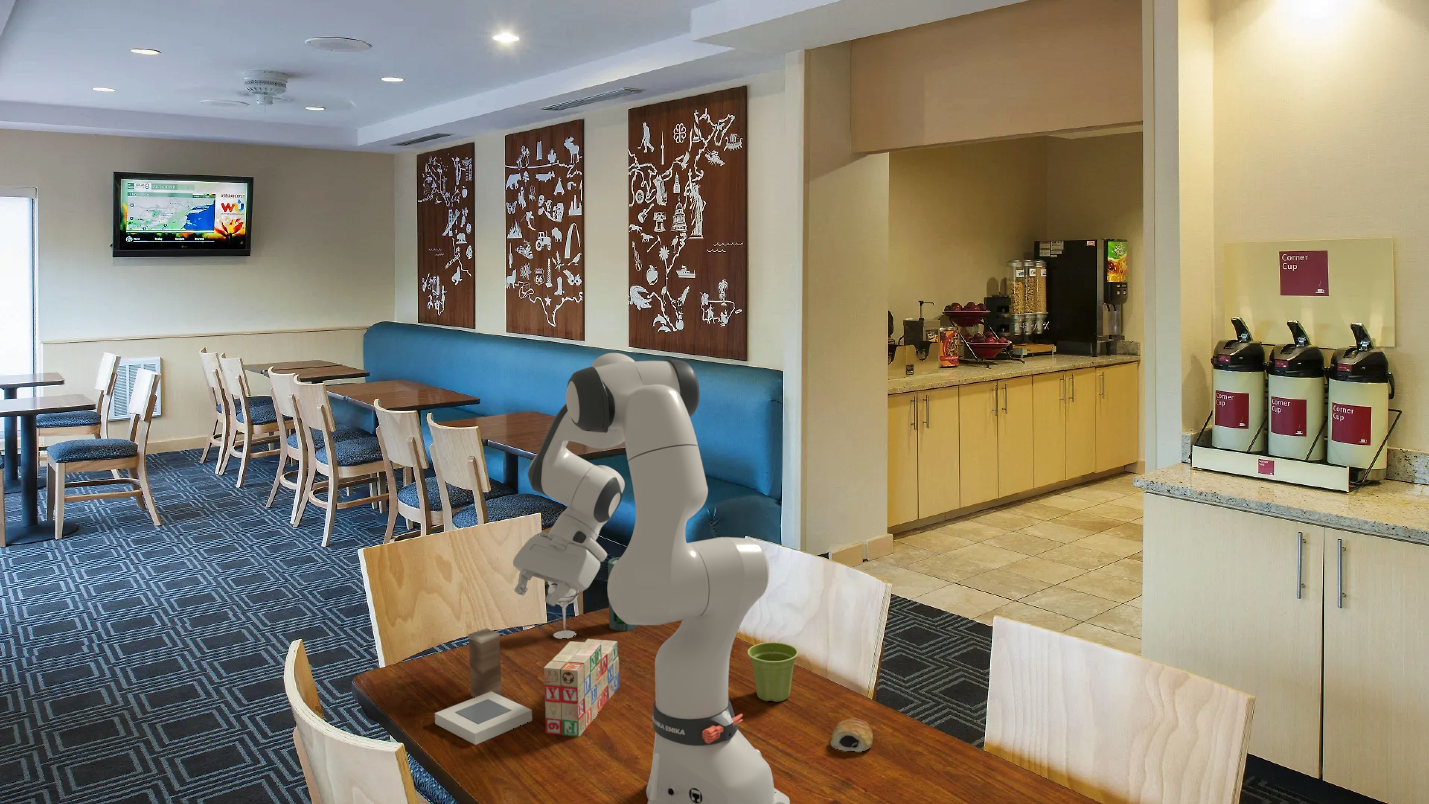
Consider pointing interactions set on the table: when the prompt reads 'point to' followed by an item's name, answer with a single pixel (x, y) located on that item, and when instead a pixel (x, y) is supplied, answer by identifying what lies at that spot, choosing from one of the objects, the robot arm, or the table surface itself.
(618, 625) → the can
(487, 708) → the plate
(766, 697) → the plant pot
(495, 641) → the brown tall block
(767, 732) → the table surface
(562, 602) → the wineglass
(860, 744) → the pastry
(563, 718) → the stack of blocks
